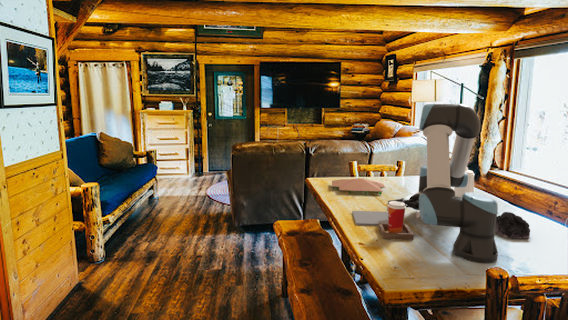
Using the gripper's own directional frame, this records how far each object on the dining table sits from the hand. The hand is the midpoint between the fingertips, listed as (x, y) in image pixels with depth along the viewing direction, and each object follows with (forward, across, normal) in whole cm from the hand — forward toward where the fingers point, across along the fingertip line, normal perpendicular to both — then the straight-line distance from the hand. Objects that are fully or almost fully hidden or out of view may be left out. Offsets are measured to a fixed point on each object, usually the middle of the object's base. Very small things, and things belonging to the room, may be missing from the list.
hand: (401, 211), depth 159 cm
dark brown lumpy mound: (-26, -39, -9) cm, 48 cm away
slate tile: (-4, +16, -8) cm, 18 cm away
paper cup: (+7, 0, -8) cm, 11 cm away
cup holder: (+7, 0, -8) cm, 11 cm away
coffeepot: (-69, -9, -8) cm, 70 cm away
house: (-46, +48, -9) cm, 67 cm away
